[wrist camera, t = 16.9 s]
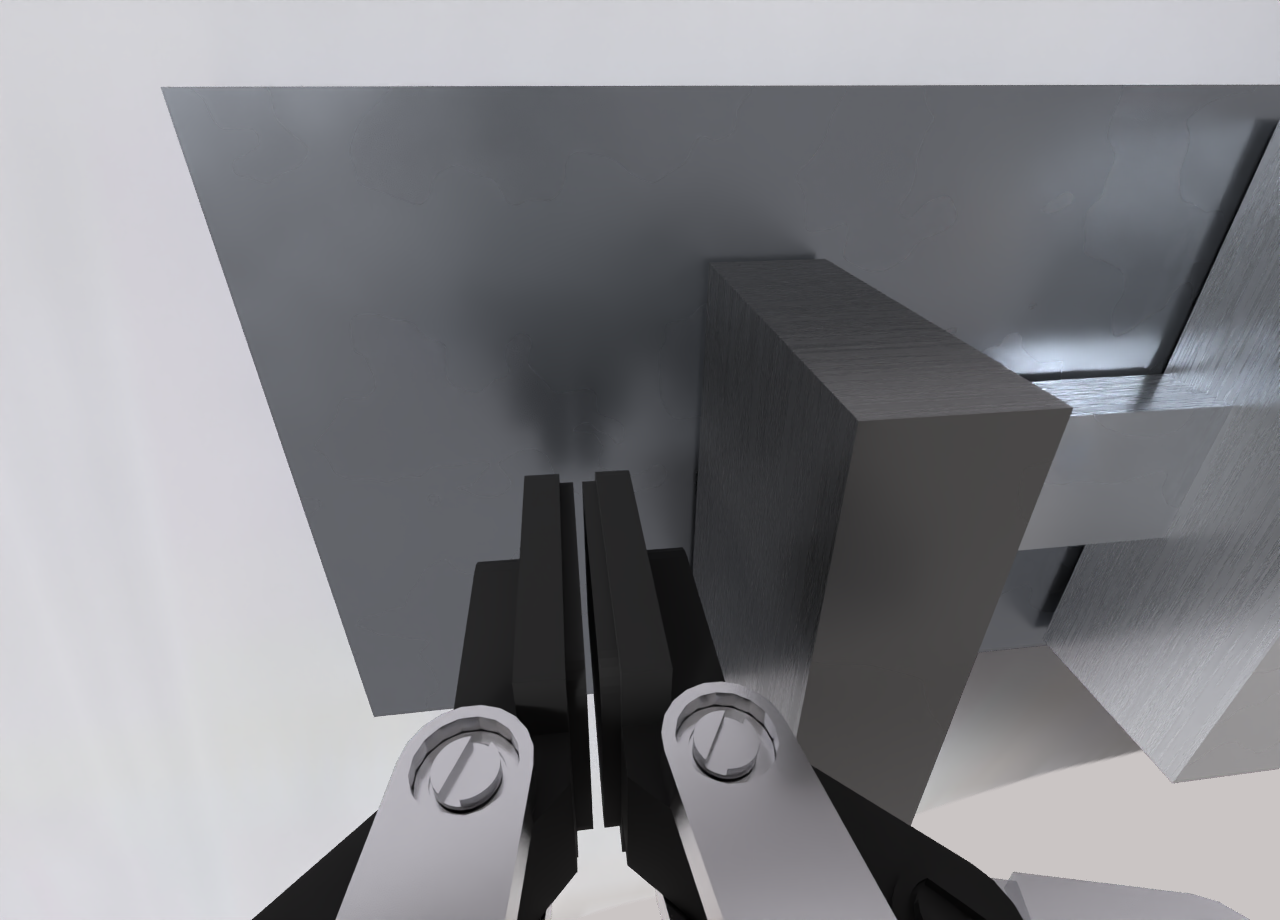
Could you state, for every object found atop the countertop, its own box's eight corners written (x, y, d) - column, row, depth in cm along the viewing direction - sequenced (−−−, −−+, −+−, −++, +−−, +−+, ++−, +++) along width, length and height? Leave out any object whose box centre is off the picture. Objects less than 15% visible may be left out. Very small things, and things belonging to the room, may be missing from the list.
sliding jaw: (686, 676, 15) (753, 954, 10) (716, 125, 9) (910, 162, 4) (1128, 630, 17) (1374, 858, 12) (1410, 118, 11) (2174, 142, 6)
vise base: (387, 667, 16) (322, 901, 12) (212, 87, 10) (-107, 83, 5) (1324, 575, 19) (1575, 731, 15) (1681, 84, 13) (2353, 80, 8)
